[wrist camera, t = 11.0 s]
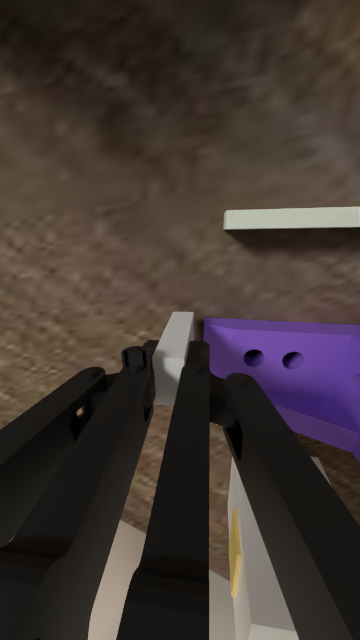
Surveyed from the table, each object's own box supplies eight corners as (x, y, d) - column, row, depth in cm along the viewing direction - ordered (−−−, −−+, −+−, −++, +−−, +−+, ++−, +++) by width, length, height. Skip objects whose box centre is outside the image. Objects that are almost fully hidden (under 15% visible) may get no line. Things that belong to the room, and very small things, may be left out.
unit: (229, 448, 23) (274, 930, 7) (317, 457, 22) (598, 1039, 6) (224, 506, 26) (247, 926, 10) (301, 515, 25) (457, 998, 9)
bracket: (363, 323, 17) (453, 376, 11) (340, 397, 20) (402, 475, 13) (204, 316, 19) (201, 359, 12) (201, 385, 21) (197, 452, 15)
